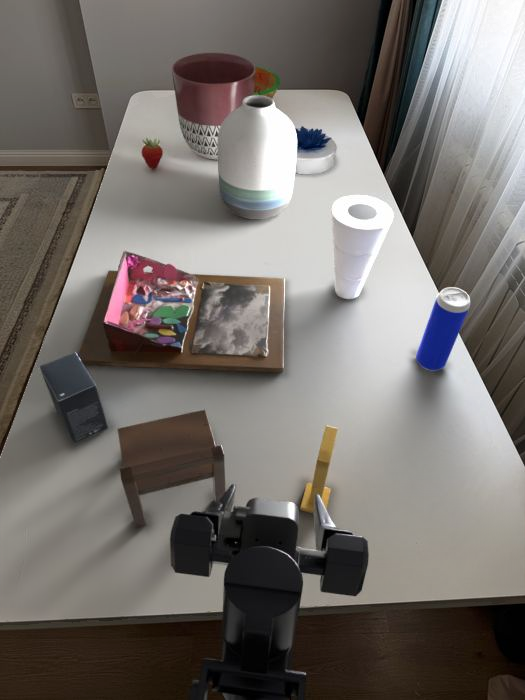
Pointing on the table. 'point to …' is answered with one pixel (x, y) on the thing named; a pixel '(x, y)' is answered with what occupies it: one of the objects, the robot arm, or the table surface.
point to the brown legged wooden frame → (169, 457)
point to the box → (74, 397)
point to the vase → (256, 159)
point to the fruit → (152, 153)
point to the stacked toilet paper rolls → (357, 240)
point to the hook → (320, 472)
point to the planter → (209, 95)
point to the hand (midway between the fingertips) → (275, 491)
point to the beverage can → (443, 328)
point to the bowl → (265, 82)
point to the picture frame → (185, 320)
